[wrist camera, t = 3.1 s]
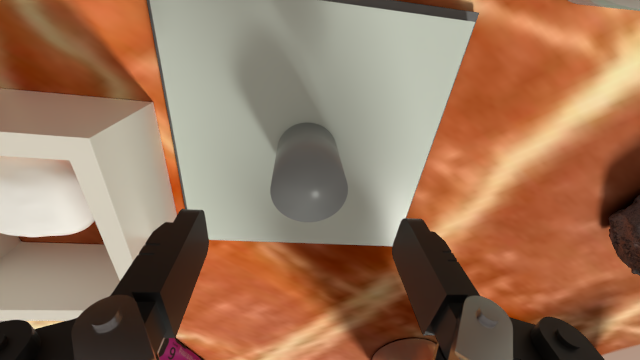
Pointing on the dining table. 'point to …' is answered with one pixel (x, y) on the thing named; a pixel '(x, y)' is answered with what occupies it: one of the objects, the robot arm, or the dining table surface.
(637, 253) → the perforated stone tool
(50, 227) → the garlic
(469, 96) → the dining table surface
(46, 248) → the grey open square box
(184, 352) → the candy bar box
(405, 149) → the lid
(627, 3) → the coffee cup
